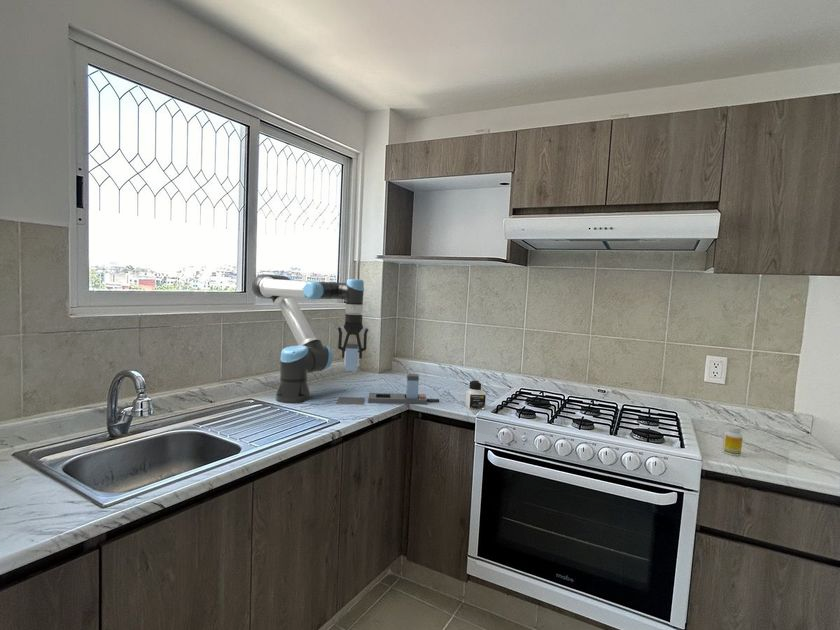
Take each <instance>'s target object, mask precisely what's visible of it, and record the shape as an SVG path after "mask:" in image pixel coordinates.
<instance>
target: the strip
mask: <svg viewBox="0 0 840 630" xmlns="http://www.w3.org/2000/svg"><path fill="white" fill-rule="evenodd" d="M367 399H368V401H367V403H368V404H387V405H388V404H389V405H390V404H392V405H393V404H396V405H397V404H398V405H426V406H427V404H428V403H440V399H439V398H427V396H426V394H421V393H420V394H419V393H418V399H409V398H406V393H385V392H368V397H367Z"/></svg>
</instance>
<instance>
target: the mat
mask: <svg viewBox="0 0 840 630" xmlns="http://www.w3.org/2000/svg"><path fill="white" fill-rule="evenodd" d="M365 398H366V397H355V396H350V397H349V396H338V398H337V400H336V402H335V405H357V406H358V405H359V406H361V405H364V403H365V400H366V399H365Z"/></svg>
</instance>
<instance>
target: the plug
mask: <svg viewBox="0 0 840 630" xmlns="http://www.w3.org/2000/svg"><path fill="white" fill-rule="evenodd" d="M345 350H346V364H345V366H344V368H345V369H344V370H345V371H346V372H357V371H358V366H357V355H358V351H359V347H358V342H351V341H350V342H349V341H348V342H347V344H346V349H345Z"/></svg>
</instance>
